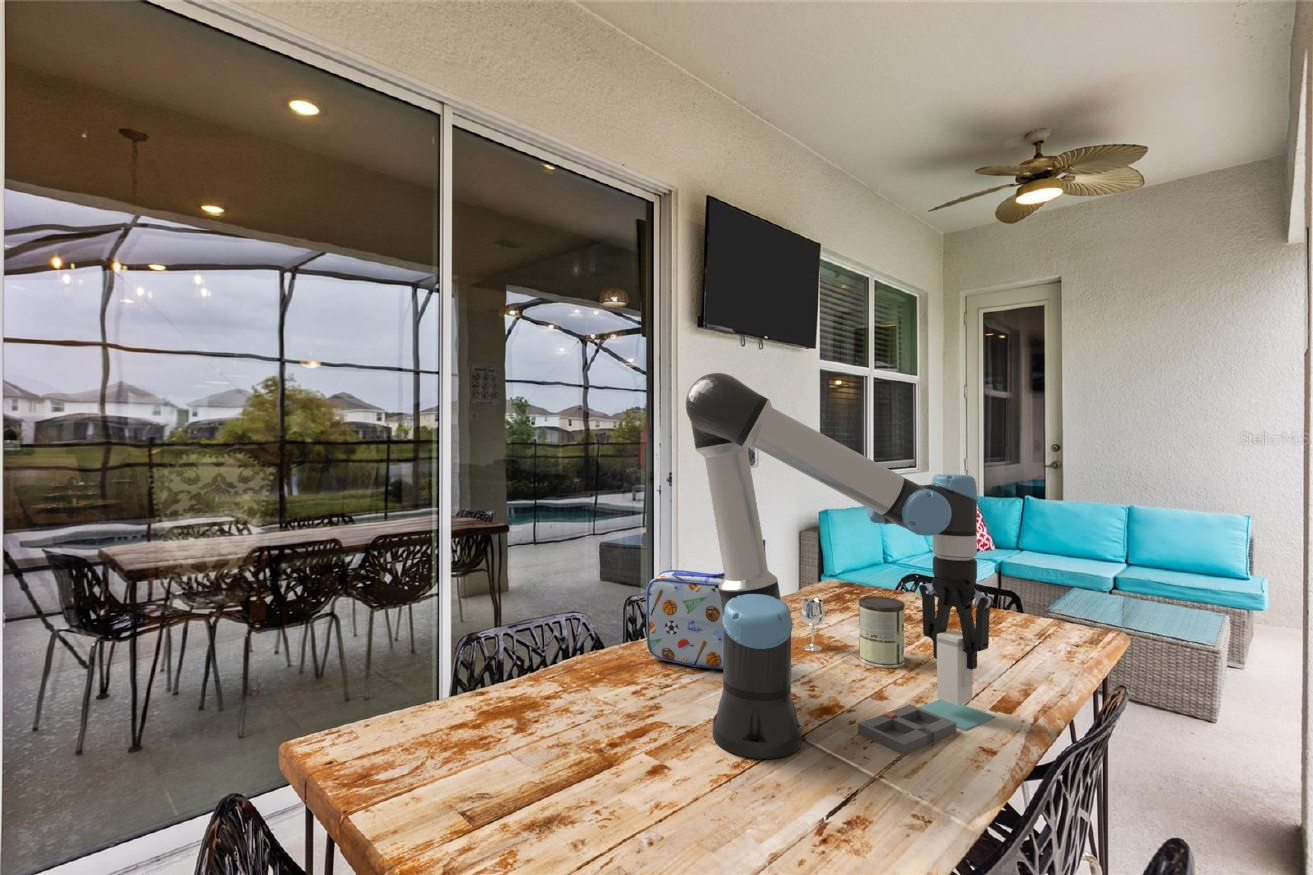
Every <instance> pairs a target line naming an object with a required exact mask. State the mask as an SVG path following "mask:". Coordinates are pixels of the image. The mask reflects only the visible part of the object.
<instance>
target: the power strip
mask: <svg viewBox="0 0 1313 875" xmlns="http://www.w3.org/2000/svg"><path fill="white" fill-rule="evenodd" d="M918 707H919V706H916V705H913V704H908V705H905V706H902V707H899V708H897V709H896V708H895V709H893V710H891V711H888V712H885V713H882V714H881V715H878V716H874V717H872V718H869V719H866V720H864V721H861V722H859V723H858V724H857V734H859V736H862V737H864V738H866V739H868V740H870V741H872V742H874V743H877V744H879V745H881V746H883V747H885V748H887V749H889V750H892V751H893V752H895V753H898V754H900V755H902V756H906V755H908V754H912V753H913V752H916V751H919V750H920V749H922V748H925V747H927V746H930V745H932V744H934V743H936V742H939V741H941V740H942V739H945V738H948V737H949V736H952V735H954V734H957V727H956V722H953V721H951V720H948V719H946V718H943V717H941V716H938V715H936V714H933V713H931V712H928V711H926V710H923V709H921V708H918Z"/></svg>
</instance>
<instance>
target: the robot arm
mask: <svg viewBox="0 0 1313 875" xmlns="http://www.w3.org/2000/svg"><path fill="white" fill-rule="evenodd" d="M686 394H687V395H686V398H685V399H686V400H685V409H686V410H685V411H686V415H687V416H688V418H689V420H690V424H691V430H692V434H693V442H694V446H695V451H696V452H697V453H699V455H701V456H703V458H704V461H705V467H706V473H707V477H708V486H709V492H710V495H711V496H710V497H711V503H712V508H713V509H712V510H713V515H714V520H715V521H714V522H715V526H716V531H717V532H716V533H717V538H718V544H719V550H720V556H721V562H722V570H723V573H724V575H725V576H724V579H723V580H722V581H721V583H720V584H719V592H720V598H721V604H722V610H723V626H724V658H723V675H722V676H723V677H722V678H723V679H722V681H723V682H722V684H723V686H722V693H721V696H720V700H719V704H718V708H717V711H716V714H715V715H714V717H713V722H712V738H713V740H714V741H715V743H716V744H717V745H718V746H719V747H721V748H722V749H724V750H725V751H727V752H729V753H732V754H733V755H737V756H740V757H744V758H745V757H746V758H750V759H760V760H761V759H762V760H768V759H769V760H770V759H780V758H784V757H787V756H790V755H791V754H794V753H795V752H797V751H798V750H799V748H801V745H802V727H801V724H800V722H799V720H798V716H797V711H796V708H795V705H794V702H793V701H794V700H793V697H792V632H793V628H794V627H793V619H792V611H791V609H790V607H789V605H788V604H787V603H786V602H784V601H783V600H782V598H781V593H780V587H779V582H778V577H777V576H776V575H775V574H773V573H772V572H770V571H769V568H768V563H767V557H766V552H765V546H764V544H765V543H764V539H763V533H762V528H761V527H762V526H761V520H760V516H759V510H758V503H757V498H756V497H757V496H756V492H755V485H754V480H753V476H752V469H751V463H750V457H749V456H750V455H749V448H750V447H754V448H756V449H758V450H759V451H761V452H762V453H765V454H767V455H769V456H770V457H772V458H774V459H776V460H778V461H780V462H782V463H784V464H785V465H787V466H789V467H791V468H793V469H795V470H797V471H798V472H800V473H802V474H804V475H806V476H808V477H810V478H811V479H814V480H815V481H817V482H819V483H821V484H823V485H824V486H827V487H828V488H831V489H833V490H834V491H836V492H838V493H839V494H841V495H843V496H846V497H847V498H849V499H851V500H853V501H855V502H857V503H858V504H861V505H863V506H864V507H866V511H867V512H866V513H867V517H868V519H869V521H870V522H871V523H873V524H882V525H891V524H892V525H896V526H899V527H901V528H904V529H906V530H908V531H910V532H912V533H913V534H915V535H918V536H926V537H929V536H930V537H931V536H932V553H933V554H934V556H933V557H932V574H933V579H932V581H931V583H924V584H920V585H919V586H918V590H919V592H920V596H921V603H922V604H921V605H922V610H921V611H922V612H921V613H922V634H923V636H924V637H927V638H929V639H930V640H932V655H933V658H934V659H935V660H937V634H939V633H942V632H946V631H948V624H949V619H950V617H951V616H950V615H951V609H952V608H953V607H954V608H955V611H956V613H957V614H958V618H959V623H960V628H961V632H962V635H963V640H964V645H965V649H963V650H962V651H961V686H962V687H968V686H970V685H972V686H973V685H974V672H973V671H974V670H976V669H977V667H978V652H982V651H985V650H988V649H989V644H990V643H989V642H990V640H989V639H990V638H989V637H990V613H991V607H992V605H993V603H994V598H993V597H992V596H991V595H985V594H983V593H982V592H980V591H979V588H978V585H977V578H978V560H976V559H975V558H974V557H976V556H978V555H977V554H978V544H977V543H978V531H977V528H978V527H977V526H978V523H977V519H978V501H979V500H978V490H977V488H978V487H977V482H976V479H975V478H974V476H972V475H968V474H948V473H945V474H941V473H940V474H935V475H933V477H932V481H931V483H930V484H918V483H916V482H914V481H912V480H909V479H908V478H905V477H904V476H903V475H900V474H899V473H896V471H894V470H891V469H889V468H888V467H886V466H883V465H881V464H879V463H878V462H877V461H874V460H873V459H871V458H869V457H866V456H865V455H863V454H861V453H860V452H857V451H855V450H853V449H851V448H849V447H847V446H846V445H844V444H843V443H841V442H838V441H836V440H834V439H833V438H831V437H829V436H827V435H825V434H823V433H821V432H819V431H818V430H815V429H813V428H812V427H809V426H808V425H806V424H805V423H802V422H800V421H799V420H796V419H794V418H792V417H791V416H789V415H787V414H785V413H783V412H782V411H779V410H777V409H775V408H774V407H773V406H772V403H771V402H772V401H771V400H770V399H769V398H768V397H765V396H764V395H763V394H762V395H761V394H760V393H758V392H756V391H755V390H753V389H752V388H750V387H748V386H747V385H746V384H744V383H743V382H741V381H740V380H739V379H737V378H736V377H734V376H732V375H729V374H727V373H723V372H712V373H708V374H705V375H703V376H701V377H700V378H698V379H697V380H696V381H695V382H694V383H693V384H692V385H691V387H690V388H689V390H688V392H687V393H686ZM935 594H936V595H937V597H938V598H937V604H936V596H935ZM974 600H975V602H974V603H975V605H976V609H975V621H974V617H973V610H974V609H973V604H972V602H973V601H974ZM936 608H937V610H936Z"/></svg>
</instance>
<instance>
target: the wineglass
mask: <svg viewBox="0 0 1313 875" xmlns="http://www.w3.org/2000/svg"><path fill="white" fill-rule="evenodd" d="M800 613H801V614H800V616H801V619H802V621H803V622H804V624H806V625H807V626H810V627H811V628H810V632H811V643H810V644H806V645H804V646H803V649H804V650H807V651H810V652H819V651H822V650H823V648H822V646H819V645H816V644H815V639H814V638H815V632H816V629H815V627H817V626H820V625H821V624H823V622H824V621H825V616H826V615H825V613H826V611H825V606H824V602H823V600H822V599H820V598H815V597H814V598H813V597H806V598H803V600H802V605H801V610H800Z"/></svg>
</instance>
